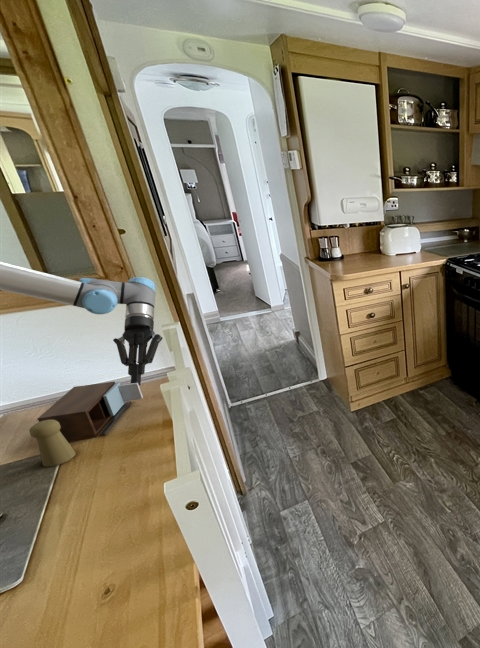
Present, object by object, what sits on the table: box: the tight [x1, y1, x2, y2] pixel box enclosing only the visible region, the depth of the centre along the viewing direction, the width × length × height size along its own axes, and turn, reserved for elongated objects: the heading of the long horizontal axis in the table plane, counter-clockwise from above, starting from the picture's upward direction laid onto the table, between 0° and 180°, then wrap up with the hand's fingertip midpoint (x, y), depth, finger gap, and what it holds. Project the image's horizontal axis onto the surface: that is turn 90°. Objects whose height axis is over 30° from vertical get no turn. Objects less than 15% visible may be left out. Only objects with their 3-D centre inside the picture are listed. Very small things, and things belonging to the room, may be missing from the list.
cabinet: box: [37, 381, 132, 443], centre depth 111 cm, size 12×18×8 cm
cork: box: [29, 420, 76, 468], centre depth 95 cm, size 6×6×11 cm
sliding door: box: [103, 381, 144, 417], centre depth 117 cm, size 6×9×7 cm, turn 21°
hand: (135, 384), depth 121 cm, fingers closed
